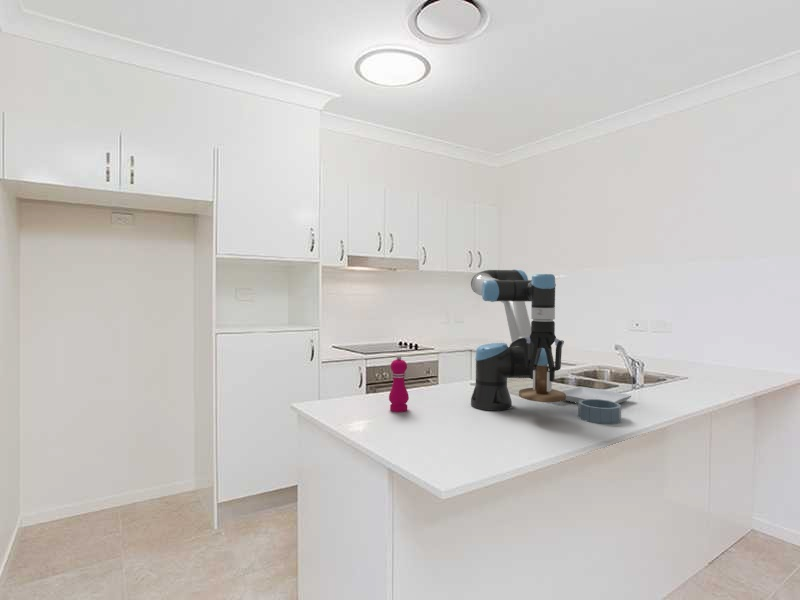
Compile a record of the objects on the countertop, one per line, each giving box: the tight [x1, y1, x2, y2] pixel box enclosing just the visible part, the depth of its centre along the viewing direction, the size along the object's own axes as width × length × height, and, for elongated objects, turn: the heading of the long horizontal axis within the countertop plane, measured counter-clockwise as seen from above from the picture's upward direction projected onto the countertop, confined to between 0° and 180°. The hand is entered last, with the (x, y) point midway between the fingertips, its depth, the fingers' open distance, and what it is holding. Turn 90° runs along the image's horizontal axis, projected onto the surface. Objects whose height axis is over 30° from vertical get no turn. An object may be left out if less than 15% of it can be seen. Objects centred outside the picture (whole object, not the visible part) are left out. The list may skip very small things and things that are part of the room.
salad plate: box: [562, 386, 632, 404], centre depth 179 cm, size 21×21×3 cm
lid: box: [518, 365, 566, 403], centre depth 152 cm, size 15×15×10 cm
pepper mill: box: [388, 354, 410, 413], centre depth 166 cm, size 7×7×20 cm
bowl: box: [577, 399, 622, 425], centre depth 155 cm, size 13×13×5 cm
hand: (542, 389), depth 153 cm, fingers closed on lid, 4 cm apart
